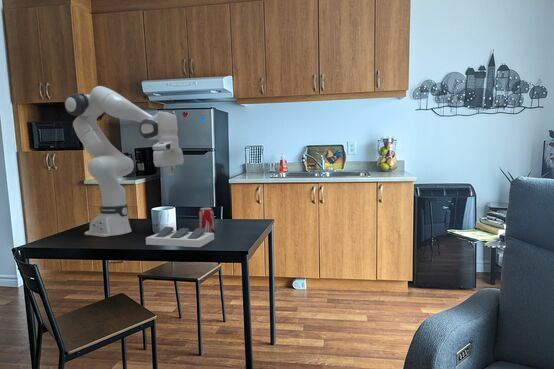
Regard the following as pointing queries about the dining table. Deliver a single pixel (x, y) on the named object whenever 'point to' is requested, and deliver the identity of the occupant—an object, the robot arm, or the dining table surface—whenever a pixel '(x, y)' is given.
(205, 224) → the soda can
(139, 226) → the dining table surface
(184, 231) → the middle rocker
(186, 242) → the rocker switch panel
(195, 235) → the rocker
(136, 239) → the dining table surface
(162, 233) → the rocker
